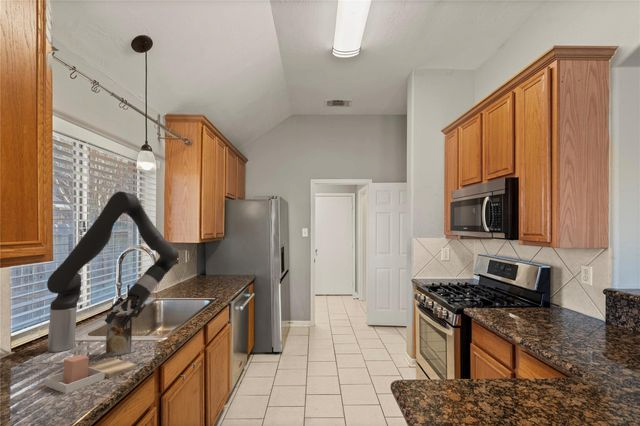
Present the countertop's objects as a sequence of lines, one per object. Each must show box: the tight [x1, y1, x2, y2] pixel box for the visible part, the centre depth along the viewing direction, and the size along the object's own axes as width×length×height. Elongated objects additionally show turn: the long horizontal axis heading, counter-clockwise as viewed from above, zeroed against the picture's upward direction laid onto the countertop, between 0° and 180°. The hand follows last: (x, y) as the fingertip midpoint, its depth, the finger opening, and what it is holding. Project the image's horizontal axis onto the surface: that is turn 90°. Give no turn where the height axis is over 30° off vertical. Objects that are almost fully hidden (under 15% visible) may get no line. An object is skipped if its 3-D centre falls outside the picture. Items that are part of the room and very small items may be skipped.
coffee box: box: [105, 311, 133, 358], centre depth 142 cm, size 9×6×16 cm
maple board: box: [88, 357, 137, 379], centre depth 125 cm, size 14×10×2 cm
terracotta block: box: [62, 354, 90, 384], centre depth 115 cm, size 5×5×8 cm
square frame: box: [44, 367, 106, 394], centre depth 114 cm, size 12×12×2 cm
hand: (113, 324), depth 126 cm, fingers open, 8 cm apart
